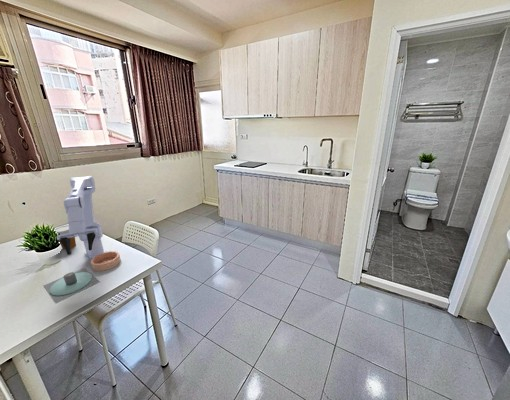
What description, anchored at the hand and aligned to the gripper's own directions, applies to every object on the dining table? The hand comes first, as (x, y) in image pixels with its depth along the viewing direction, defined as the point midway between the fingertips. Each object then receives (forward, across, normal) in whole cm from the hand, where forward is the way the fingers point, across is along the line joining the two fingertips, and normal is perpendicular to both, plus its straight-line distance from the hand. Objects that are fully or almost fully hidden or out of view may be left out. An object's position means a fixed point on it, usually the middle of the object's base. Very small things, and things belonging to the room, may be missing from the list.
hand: (80, 252), depth 99 cm
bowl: (+8, +6, +16) cm, 19 cm away
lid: (+13, -6, +7) cm, 15 cm away
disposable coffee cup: (-8, -16, +43) cm, 47 cm away
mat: (+13, -6, +7) cm, 16 cm away
